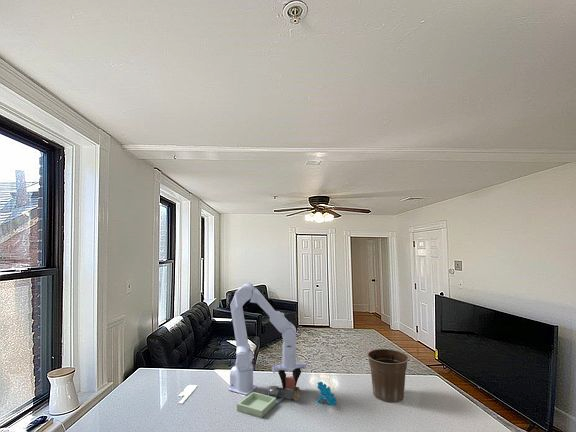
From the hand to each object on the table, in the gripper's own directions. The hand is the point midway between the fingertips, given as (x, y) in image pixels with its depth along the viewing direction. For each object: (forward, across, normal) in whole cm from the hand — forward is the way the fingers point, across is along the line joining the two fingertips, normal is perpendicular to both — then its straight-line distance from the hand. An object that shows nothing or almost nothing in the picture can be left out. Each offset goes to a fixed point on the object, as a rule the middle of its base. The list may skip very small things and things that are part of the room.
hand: (289, 387), depth 142 cm
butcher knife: (+2, -42, +10) cm, 43 cm away
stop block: (+1, 0, 0) cm, 1 cm away
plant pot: (+2, +38, -16) cm, 41 cm away
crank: (+1, -4, -6) cm, 8 cm away
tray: (+1, -16, -9) cm, 18 cm away
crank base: (+1, -7, -3) cm, 7 cm away
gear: (+2, +11, -14) cm, 18 cm away
